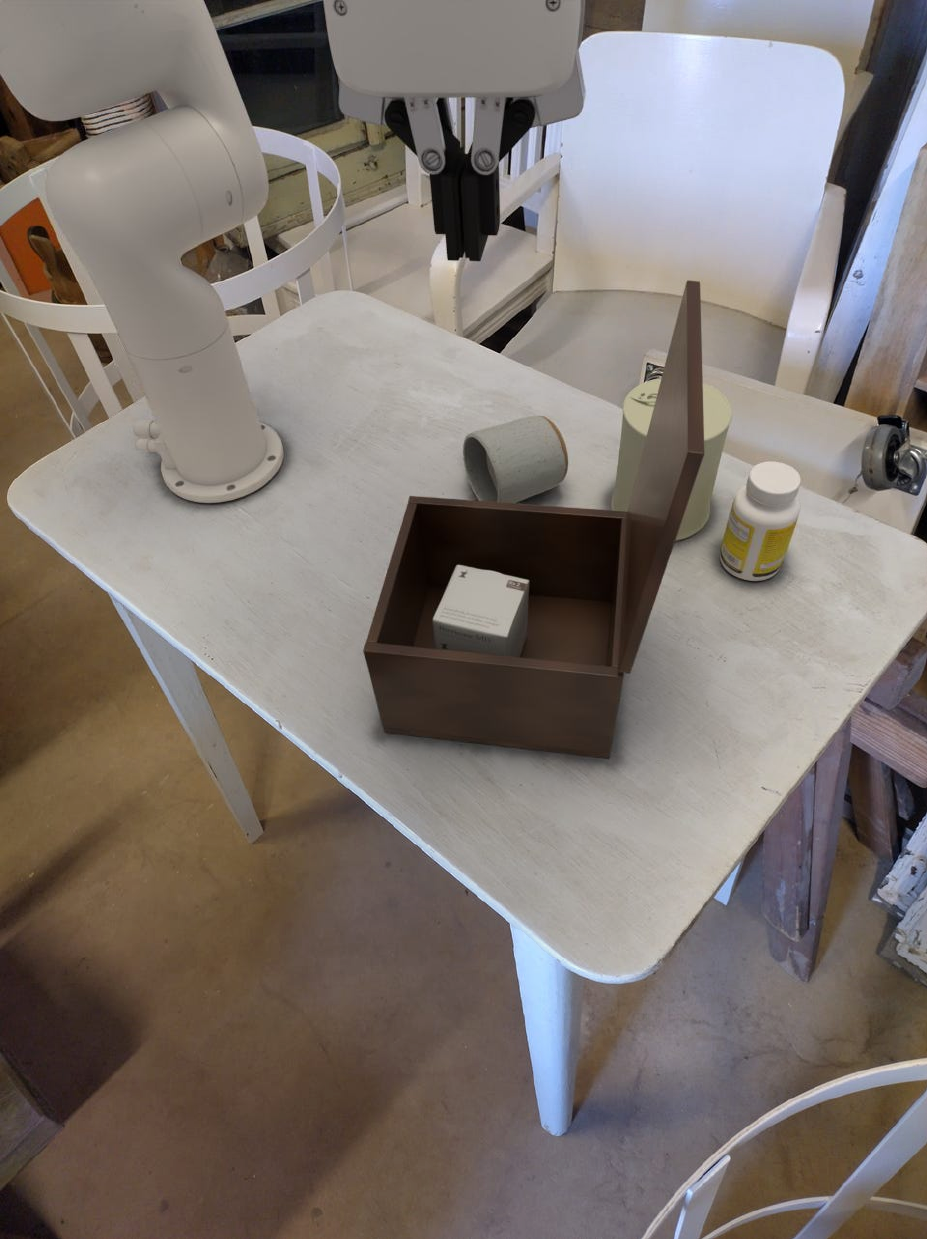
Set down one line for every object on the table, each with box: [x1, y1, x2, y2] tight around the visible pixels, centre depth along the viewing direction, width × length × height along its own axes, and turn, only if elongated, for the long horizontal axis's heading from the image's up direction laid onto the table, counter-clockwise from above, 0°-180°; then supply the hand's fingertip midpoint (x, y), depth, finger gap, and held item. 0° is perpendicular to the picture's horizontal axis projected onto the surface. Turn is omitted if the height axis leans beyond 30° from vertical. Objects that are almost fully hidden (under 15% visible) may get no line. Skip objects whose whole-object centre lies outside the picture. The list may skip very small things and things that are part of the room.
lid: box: [618, 280, 704, 675], centre depth 50 cm, size 18×16×1 cm
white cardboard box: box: [433, 565, 529, 657], centre depth 64 cm, size 6×6×7 cm
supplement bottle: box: [719, 461, 802, 582], centre depth 69 cm, size 5×5×10 cm
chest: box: [362, 495, 628, 759], centre depth 63 cm, size 18×16×11 cm
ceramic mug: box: [462, 415, 569, 504], centre depth 79 cm, size 11×8×8 cm
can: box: [610, 377, 733, 542], centre depth 73 cm, size 9×9×12 cm
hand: (468, 246), depth 40 cm, fingers closed
